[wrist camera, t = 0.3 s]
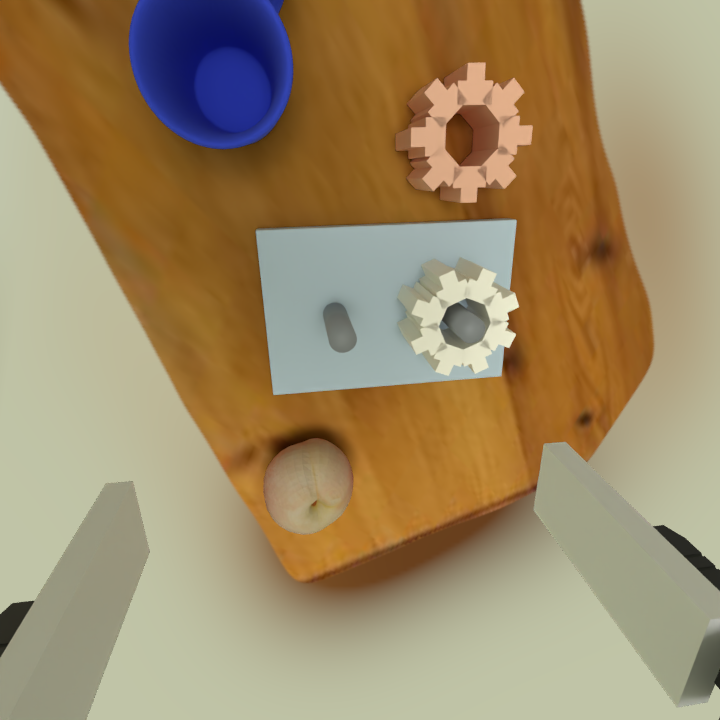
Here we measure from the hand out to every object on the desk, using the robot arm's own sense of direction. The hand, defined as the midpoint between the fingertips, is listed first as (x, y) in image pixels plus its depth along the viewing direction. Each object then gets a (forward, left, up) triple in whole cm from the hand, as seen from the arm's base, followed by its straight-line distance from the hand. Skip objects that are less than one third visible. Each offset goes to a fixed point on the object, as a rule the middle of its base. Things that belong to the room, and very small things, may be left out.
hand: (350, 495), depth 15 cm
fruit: (+16, -2, -27) cm, 31 cm away
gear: (+1, +11, -25) cm, 27 cm away
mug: (-17, -4, -27) cm, 32 cm away
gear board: (+1, +6, -26) cm, 27 cm away
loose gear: (-12, +11, -26) cm, 31 cm away
